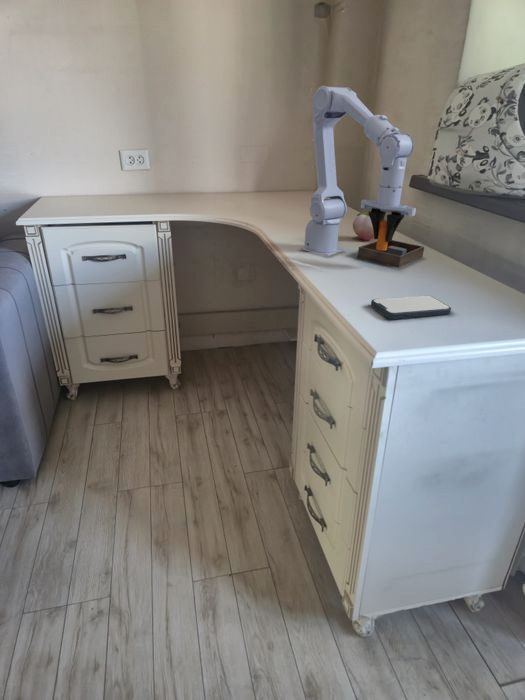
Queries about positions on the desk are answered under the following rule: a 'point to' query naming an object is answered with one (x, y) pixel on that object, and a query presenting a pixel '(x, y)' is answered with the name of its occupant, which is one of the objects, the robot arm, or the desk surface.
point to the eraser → (396, 250)
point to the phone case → (410, 307)
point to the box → (389, 259)
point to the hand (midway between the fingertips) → (382, 239)
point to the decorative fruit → (363, 226)
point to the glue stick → (382, 236)
